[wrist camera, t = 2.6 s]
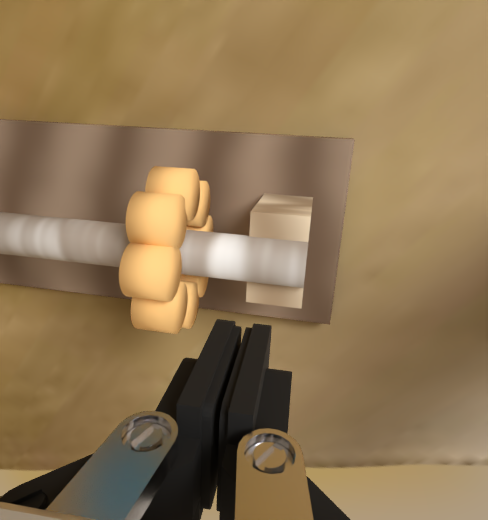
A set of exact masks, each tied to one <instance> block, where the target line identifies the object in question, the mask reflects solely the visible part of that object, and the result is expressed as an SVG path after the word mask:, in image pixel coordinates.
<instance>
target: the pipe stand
mask: <svg viewBox="0 0 488 520" xmlns="http://www.w3.org/2000/svg"><path fill="white" fill-rule="evenodd" d="M353 147H354V139H350V138H332V137H314V136H296V135H277V134H259V133H241V132H223V131H204V130H186V129H168V128H149V127H131V126H113V125H95V124H76V123H58V122H40V121H21V120H3V119H0V283H5V284H13V285H21V286H29V287H37V288H45V289H53V290H61V291H69V292H77V293H85V294H93V295H100V296H108V297H116V298H124V299H132V297H127V296H125V295H124V294H123V293H122V291H121V288H120V284H119V267H120V262H121V258H122V255H123V252H124V250H125V248H126V247H127V245H128V244H129V243H130V242H129V240H128V237H127V233H126V211H127V207H128V203H129V201H130V199H131V197H132V195H133V194H134V193H135V192H137V191H143V192H145V187H146V181H147V177H148V174H149V172H150V170H151V169H152V168H153V167H154V166H161V167H175V168H190V169H195V170H196V171H197V172H198V175H199V180H201V181H207V182H208V184H209V188H210V211H209V215H210V216H211V217H212V220H213V232H206V231H196V230H186V235H185V239H184V242H183V244H182V246H181V248H180V249H179V250H180V252H181V258H182V272H181V274H184V275H193V276H201V277H209V278H208V284H207V288H206V291H205V293H204V295H203V297H199V306H198V308H204V309H212V310H220V311H228V312H236V313H244V314H252V315H260V316H268V317H276V318H284V319H292V320H299V321H307V322H315V323H323V324H330V319H331V312H332V304H333V297H334V289H335V282H336V274H337V267H338V259H339V252H340V244H341V237H342V229H343V222H344V214H345V207H346V199H347V192H348V184H349V177H350V169H351V162H352V155H353Z"/></svg>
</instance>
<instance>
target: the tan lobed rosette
mask: <svg viewBox="0 0 488 520" xmlns="http://www.w3.org/2000/svg"><path fill="white" fill-rule="evenodd" d="M209 211H210V188H209V184H208V182H207V181H201V180H199V175H198V172H197V171H196V170H195V169H190V168H175V167H161V166H154V167H153V168H152V169H151V170H150V172H149V174H148V177H147V181H146V187H145V192H143V191H137V192H135V193H134V194H133V195H132V197H131V199H130V201H129V203H128V207H127V211H126V233H127V237H128V240H129V242H130V243H129V244H128V245H127V247H126V248H125V250H124V252H123V255H122V258H121V262H120V267H119V284H120V288H121V291H122V293H123V294H124V295H125V296H127V297H132V301H131V321H132V324H133V326H134V327H135V328H137V329H143V330H151V331H158V332H165V333H173V334H177V333H178V332H179V331H180V330H181V328H188V329H190V328H191V327H192V326H193V324H194V322H195V319H196V316H197V312H198V306H199V297H203V295H204V293H205V291H206V288H207V284H208V278H209V277H201V276H193V275H184V274H181V272H182V258H181V252H180V250H179V249H180V248H181V246H182V244H183V242H184V239H185V235H186V230H196V231H206V232H213V220H212V217H211V216H210V215H209Z"/></svg>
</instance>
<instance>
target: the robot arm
mask: <svg viewBox="0 0 488 520" xmlns="http://www.w3.org/2000/svg"><path fill="white" fill-rule="evenodd" d="M270 341H271V326H270V325H262V324H253V327H252V328H247V327H246V330H245V333H244V336H243V339H242V342H241V327H239V326H235V321H228V320H219V319H217V320H216V322H215V324H214V326H213V329H212V331H211V333H210V335H209V337H208V339H207V341H206V343H205V345H204V347H203V350H202V352H201V354H200V356H199V358H198V359H192V358H184V359H183V361H182V362H181V364H180V366H179V368H178V370H177V372H176V373H175V375H174V377H173V379H172V381H171V383H170V385H169V386H168V388H167V390H166V392H165V394H164V396H163V398H162V399H161V401H160V403H159V405H158V407H157V409H156V411H143V412H140V413H136V414H134V415H132V416H130V417H128V418H126V419H125V420H124V421H123V422H121V423H120V424H119V425H118V426H117V428H116V429H115V430H114V431H113V432H112V433H111V435H110V436H109V437H108V438H107V439H106V440H105V441H104V443H103V444H102V445H101V446H100V447H99V448H98V450H97V451H96V452H95V453H94V454H92V455H89V456H87V457H84V458H82V459H80V460H77V461H75V462H73V463H70V464H68V465H66V466H63V467H61V468H59V469H56V470H54V471H52V472H49V473H47V474H45V475H42V476H40V477H38V478H35V479H33V480H31V481H29V482H26V483H24V484H21V485H19V486H17V487H15V488H13V489H12V490H10V491H8V492H7V493H6V494H4V495H3V496H0V520H200V519H201V515H202V512H203V508H205V509H211V506H212V503H213V499H214V496H215V492H216V488H217V511H220V520H350V519H349V518H348V517H347V516H346V515H345V514H344V513H343V512H342V511H341V510H340V509H339V508H338V507H337V506H336V505H335V504H334V503H333V502H332V501H331V500H330V499H329V498H328V497H327V496H326V495H325V494H324V493H323V492H322V491H321V490H320V489H319V488H318V487H317V486H316V485H315V484H314V483H313V482H312V481H311V480H310V479H309V478H308V477H307V476H306V471H305V465H304V459H303V453H302V450H301V448H300V445H299V444H298V443H297V442H296V440H295V439H294V438H292V437H291V436H290V435H288V434H287V431H288V418H289V405H290V392H291V379H292V372H290V371H283V370H275V369H268V367H269V354H270Z"/></svg>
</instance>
